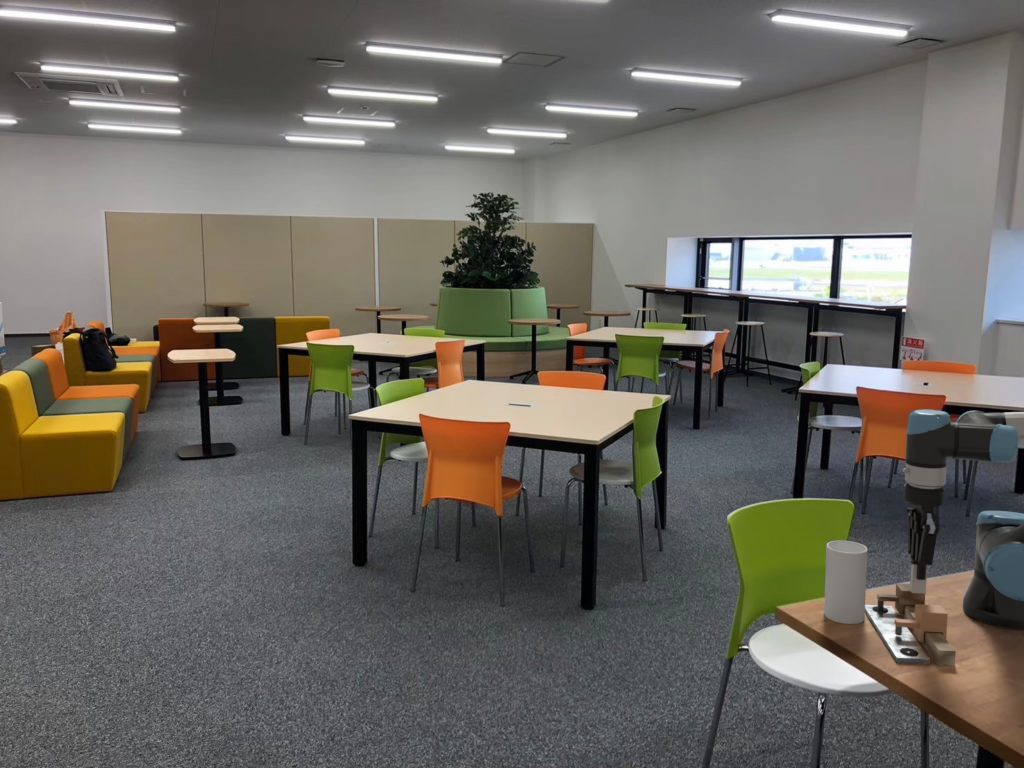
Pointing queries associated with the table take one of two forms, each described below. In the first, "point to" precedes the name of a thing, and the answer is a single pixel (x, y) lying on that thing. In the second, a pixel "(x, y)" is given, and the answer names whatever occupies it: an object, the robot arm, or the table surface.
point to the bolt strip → (896, 636)
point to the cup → (845, 582)
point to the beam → (934, 642)
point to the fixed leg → (901, 598)
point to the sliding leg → (925, 621)
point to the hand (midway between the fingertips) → (917, 591)
